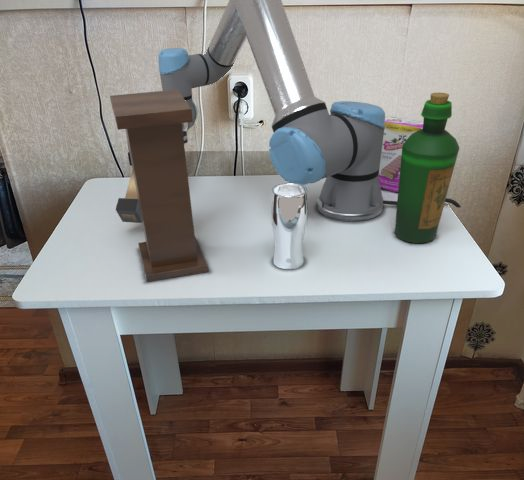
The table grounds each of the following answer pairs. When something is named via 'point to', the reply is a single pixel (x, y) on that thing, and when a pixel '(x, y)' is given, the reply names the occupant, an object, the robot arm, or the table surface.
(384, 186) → the candy bar box
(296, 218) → the beer glass
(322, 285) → the table surface
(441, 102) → the bottle
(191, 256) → the wooden pedestal stand
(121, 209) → the long wooden bar
